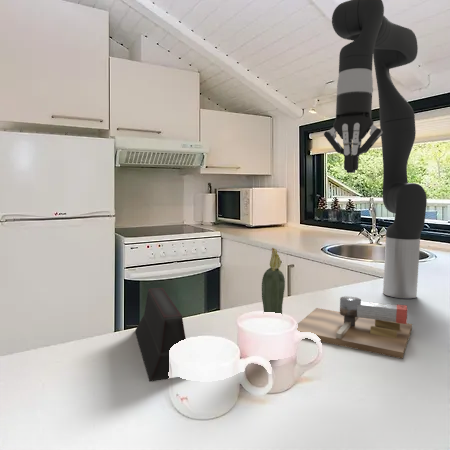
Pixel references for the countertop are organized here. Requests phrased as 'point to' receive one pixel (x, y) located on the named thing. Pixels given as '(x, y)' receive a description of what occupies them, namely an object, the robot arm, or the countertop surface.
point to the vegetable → (273, 285)
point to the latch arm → (372, 310)
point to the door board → (358, 332)
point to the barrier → (159, 333)
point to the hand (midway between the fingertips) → (350, 172)
